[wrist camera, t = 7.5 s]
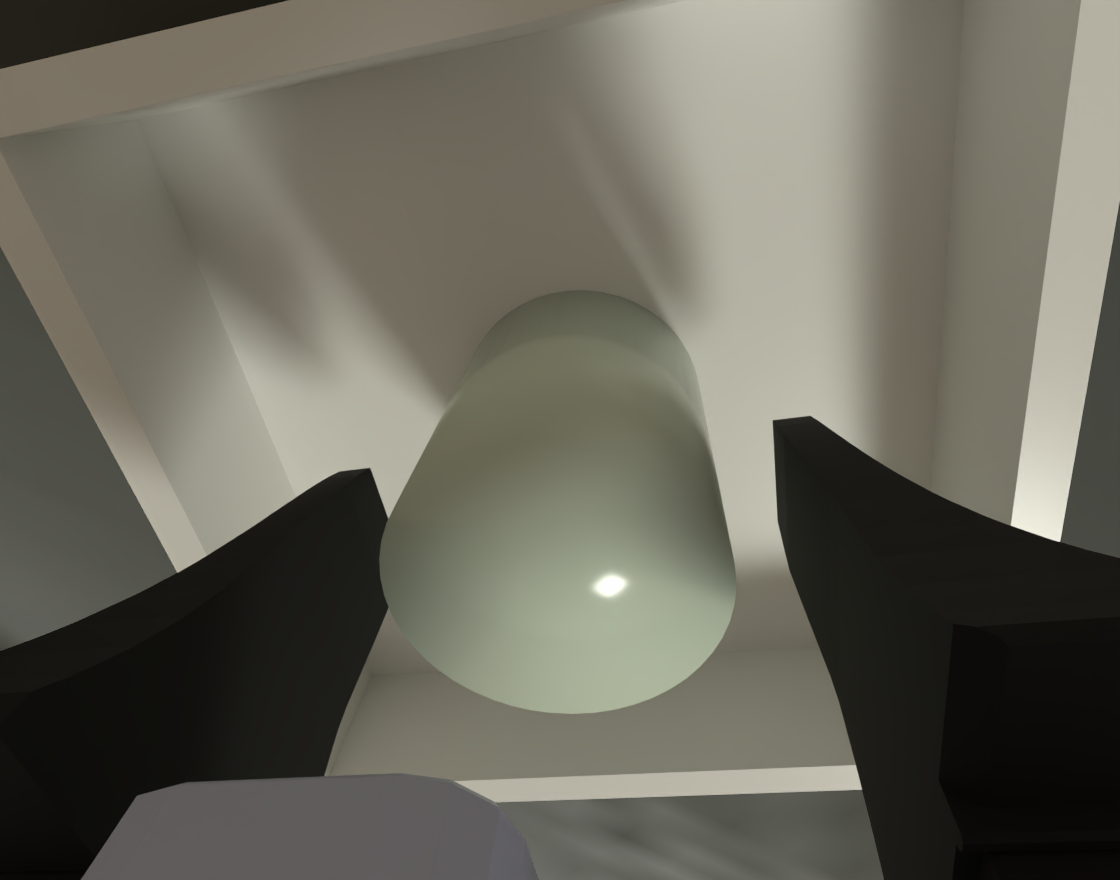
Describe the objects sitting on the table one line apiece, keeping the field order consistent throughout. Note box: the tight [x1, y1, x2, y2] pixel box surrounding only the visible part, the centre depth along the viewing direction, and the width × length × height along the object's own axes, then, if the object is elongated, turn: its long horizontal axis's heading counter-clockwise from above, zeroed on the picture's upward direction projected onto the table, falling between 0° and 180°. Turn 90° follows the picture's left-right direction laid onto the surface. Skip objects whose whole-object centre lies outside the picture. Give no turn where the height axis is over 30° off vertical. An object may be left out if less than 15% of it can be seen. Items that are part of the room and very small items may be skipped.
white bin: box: [0, 0, 1120, 802], centre depth 14 cm, size 16×16×4 cm
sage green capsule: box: [379, 290, 737, 714], centre depth 13 cm, size 5×5×6 cm
